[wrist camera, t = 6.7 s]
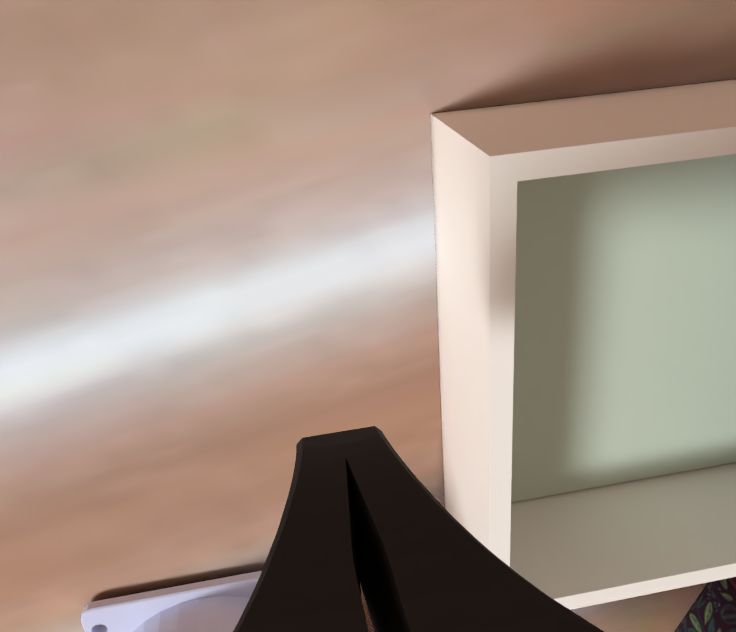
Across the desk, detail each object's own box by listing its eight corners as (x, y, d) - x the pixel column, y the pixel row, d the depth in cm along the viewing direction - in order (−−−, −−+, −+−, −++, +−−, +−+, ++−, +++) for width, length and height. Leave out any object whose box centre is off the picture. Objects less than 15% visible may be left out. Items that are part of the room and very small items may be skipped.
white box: (847, 438, 27) (968, 530, 22) (444, 510, 25) (489, 625, 21) (958, 54, 20) (1156, 75, 16) (430, 113, 19) (489, 156, 14)
